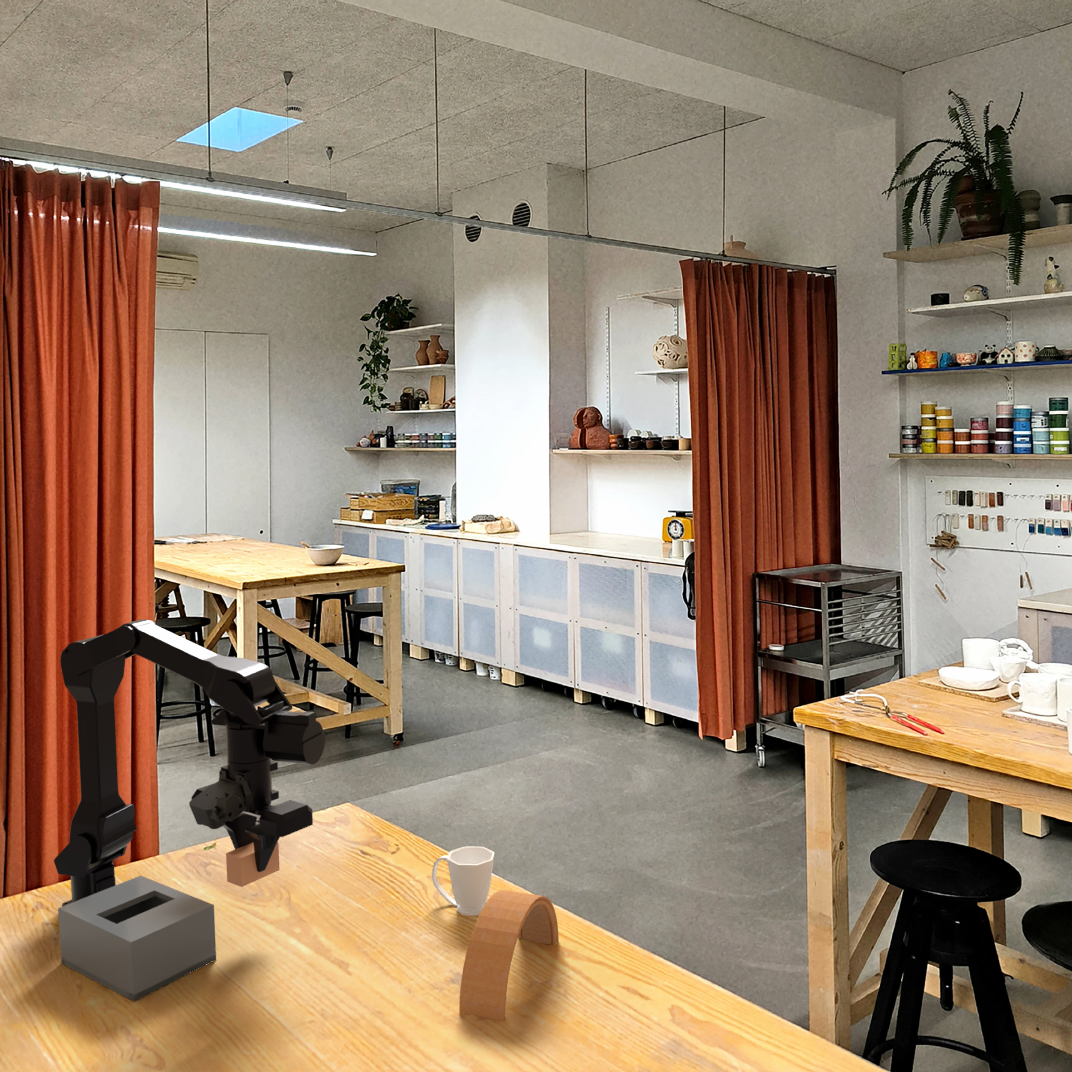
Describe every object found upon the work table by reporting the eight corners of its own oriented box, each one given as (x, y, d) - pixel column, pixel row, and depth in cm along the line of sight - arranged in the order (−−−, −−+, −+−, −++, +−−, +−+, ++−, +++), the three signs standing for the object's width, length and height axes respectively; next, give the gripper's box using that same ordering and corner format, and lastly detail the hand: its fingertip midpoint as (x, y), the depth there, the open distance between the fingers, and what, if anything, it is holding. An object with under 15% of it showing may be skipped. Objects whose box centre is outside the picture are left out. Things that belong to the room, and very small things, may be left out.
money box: (61, 963, 134) (58, 908, 133) (143, 927, 144) (140, 875, 143) (134, 1001, 125) (131, 942, 124) (216, 960, 135) (213, 904, 134)
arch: (560, 943, 139) (559, 871, 138) (503, 1022, 120) (502, 940, 119) (519, 936, 141) (519, 865, 140) (457, 1012, 122) (456, 932, 121)
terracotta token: (227, 881, 140) (226, 853, 139) (265, 865, 145) (264, 837, 145) (241, 887, 138) (240, 858, 138) (279, 870, 143) (278, 842, 143)
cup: (480, 924, 144) (479, 868, 143) (420, 910, 148) (419, 856, 148) (504, 903, 150) (504, 850, 149) (446, 890, 155) (445, 838, 154)
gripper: (155, 761, 139) (160, 872, 140) (246, 787, 128) (251, 907, 129) (223, 740, 148) (227, 845, 149) (313, 763, 137) (317, 876, 139)
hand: (253, 868), depth 141 cm, fingers closed on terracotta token, 3 cm apart
